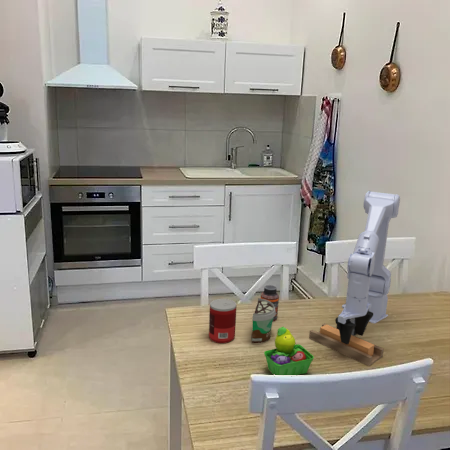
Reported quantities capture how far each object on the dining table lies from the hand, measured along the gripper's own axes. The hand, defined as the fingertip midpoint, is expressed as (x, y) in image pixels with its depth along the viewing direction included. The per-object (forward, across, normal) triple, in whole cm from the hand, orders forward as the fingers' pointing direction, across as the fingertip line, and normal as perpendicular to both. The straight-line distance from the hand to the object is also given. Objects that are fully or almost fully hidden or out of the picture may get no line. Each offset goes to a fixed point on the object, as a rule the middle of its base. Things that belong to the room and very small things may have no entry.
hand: (352, 338), depth 134 cm
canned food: (+4, +23, -30) cm, 38 cm away
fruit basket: (+4, +22, -6) cm, 23 cm away
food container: (+4, +13, -22) cm, 26 cm away
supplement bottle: (+4, +3, -29) cm, 29 cm away
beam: (+4, -10, -6) cm, 12 cm away
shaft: (+3, 0, -2) cm, 4 cm away
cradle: (+4, 0, -2) cm, 5 cm away
